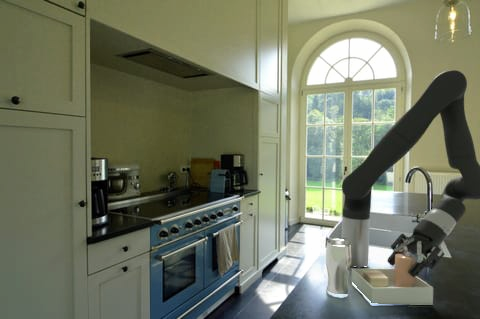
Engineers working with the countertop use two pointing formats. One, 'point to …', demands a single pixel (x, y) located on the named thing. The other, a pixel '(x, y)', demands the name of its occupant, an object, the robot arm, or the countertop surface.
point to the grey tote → (393, 289)
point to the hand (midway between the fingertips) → (399, 269)
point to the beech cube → (375, 278)
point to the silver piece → (338, 265)
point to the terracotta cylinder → (403, 270)
